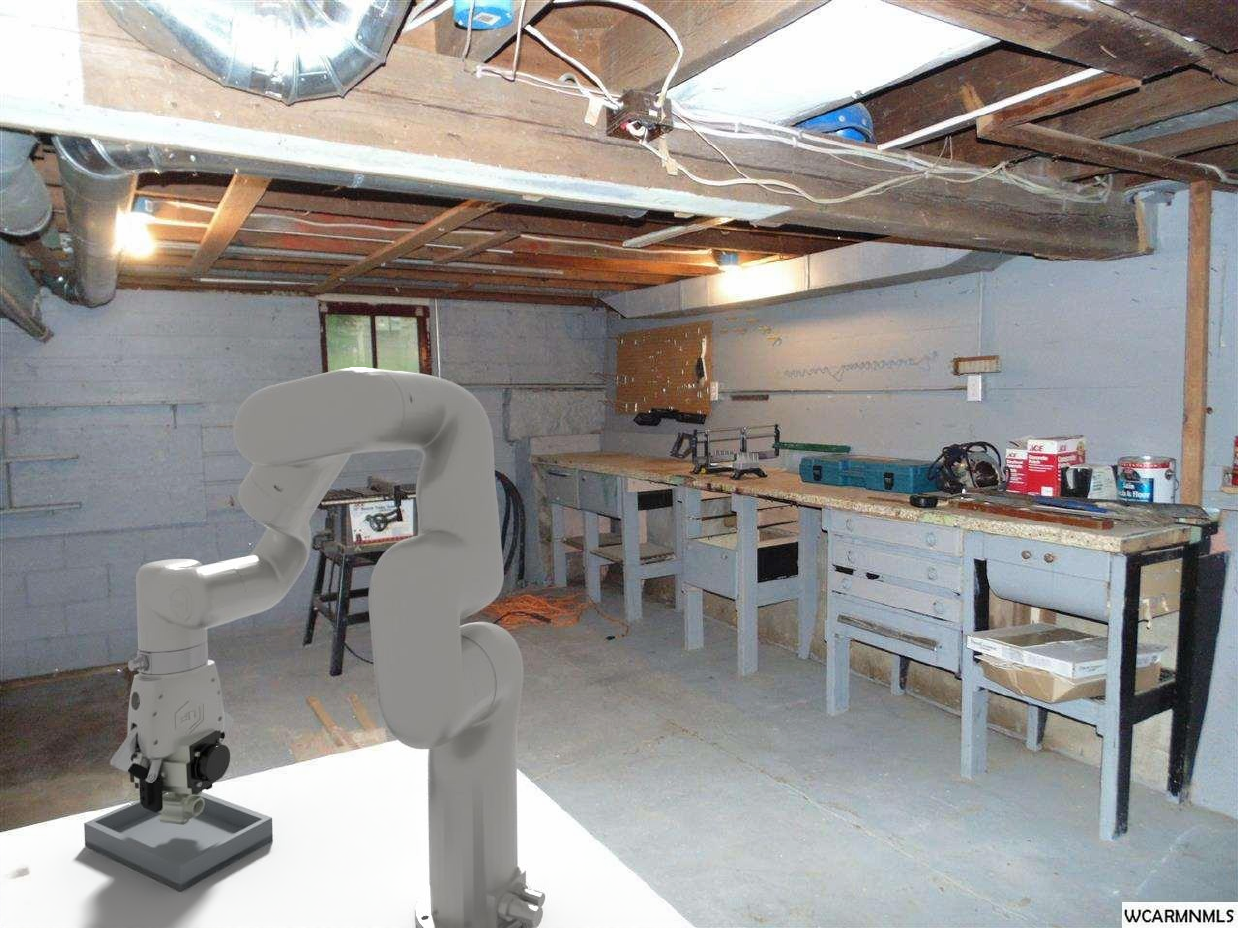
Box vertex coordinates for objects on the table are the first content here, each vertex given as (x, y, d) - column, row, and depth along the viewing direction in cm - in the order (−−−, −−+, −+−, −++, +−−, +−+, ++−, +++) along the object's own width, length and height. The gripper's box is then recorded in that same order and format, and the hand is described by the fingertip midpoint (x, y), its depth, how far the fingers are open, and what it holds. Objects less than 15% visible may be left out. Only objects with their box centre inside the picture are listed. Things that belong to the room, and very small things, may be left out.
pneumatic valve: (156, 803, 99) (152, 716, 98) (234, 812, 96) (230, 722, 96) (121, 826, 93) (116, 734, 92) (202, 836, 91) (197, 741, 90)
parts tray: (272, 840, 96) (272, 817, 96) (180, 891, 85) (179, 866, 85) (178, 803, 105) (177, 783, 105) (85, 846, 94) (84, 822, 94)
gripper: (118, 683, 85) (124, 838, 85) (254, 644, 100) (258, 776, 101) (82, 673, 88) (88, 821, 89) (219, 637, 103) (222, 764, 104)
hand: (178, 796), depth 95 cm, fingers closed on pneumatic valve, 5 cm apart
